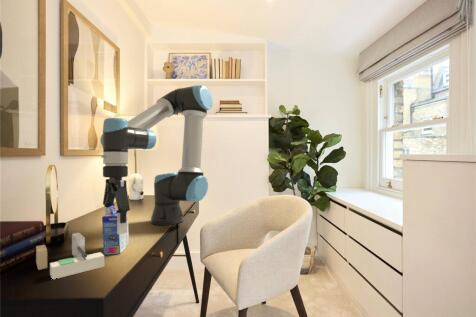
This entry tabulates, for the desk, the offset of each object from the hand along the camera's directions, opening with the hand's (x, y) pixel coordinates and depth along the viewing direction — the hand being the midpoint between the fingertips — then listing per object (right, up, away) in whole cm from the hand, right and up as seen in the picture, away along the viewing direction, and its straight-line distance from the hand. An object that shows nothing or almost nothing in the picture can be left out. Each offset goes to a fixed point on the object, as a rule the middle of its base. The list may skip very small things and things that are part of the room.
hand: (115, 229), depth 88 cm
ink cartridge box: (0, -7, 0) cm, 7 cm away
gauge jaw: (-5, -6, -10) cm, 13 cm away
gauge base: (-7, -7, -13) cm, 16 cm away
